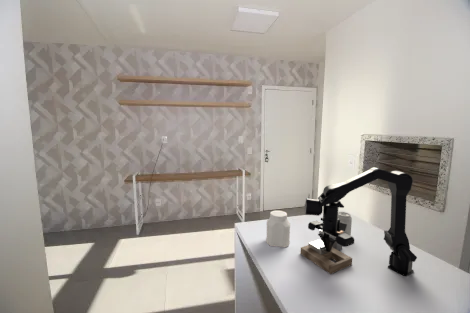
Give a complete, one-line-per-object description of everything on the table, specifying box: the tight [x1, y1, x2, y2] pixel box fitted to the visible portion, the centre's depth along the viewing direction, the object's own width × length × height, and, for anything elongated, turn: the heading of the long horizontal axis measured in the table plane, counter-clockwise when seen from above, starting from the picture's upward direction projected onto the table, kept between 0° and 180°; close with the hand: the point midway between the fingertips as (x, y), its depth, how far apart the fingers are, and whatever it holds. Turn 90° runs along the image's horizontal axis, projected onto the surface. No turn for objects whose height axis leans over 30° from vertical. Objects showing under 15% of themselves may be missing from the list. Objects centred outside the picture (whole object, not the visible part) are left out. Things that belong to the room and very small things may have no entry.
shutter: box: [307, 238, 332, 255], centre depth 95 cm, size 7×7×3 cm
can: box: [338, 211, 353, 236], centre depth 115 cm, size 8×8×12 cm
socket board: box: [300, 244, 353, 275], centre depth 93 cm, size 16×13×3 cm
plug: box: [332, 231, 343, 251], centre depth 102 cm, size 4×4×9 cm
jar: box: [265, 210, 291, 248], centre depth 107 cm, size 12×10×15 cm
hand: (328, 251), depth 92 cm, fingers closed
